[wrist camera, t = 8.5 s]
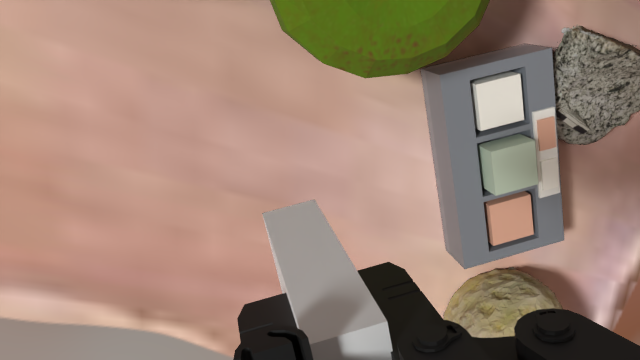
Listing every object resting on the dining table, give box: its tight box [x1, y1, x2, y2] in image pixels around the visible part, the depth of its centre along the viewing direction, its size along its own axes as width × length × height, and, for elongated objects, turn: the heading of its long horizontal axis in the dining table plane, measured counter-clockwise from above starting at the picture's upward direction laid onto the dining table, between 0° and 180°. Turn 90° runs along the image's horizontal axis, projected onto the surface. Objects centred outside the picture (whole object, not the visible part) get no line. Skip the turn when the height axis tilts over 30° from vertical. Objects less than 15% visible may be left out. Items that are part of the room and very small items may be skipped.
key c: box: [483, 191, 534, 246], centre depth 44 cm, size 3×3×2 cm
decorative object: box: [443, 267, 563, 338], centre depth 46 cm, size 9×10×10 cm
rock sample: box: [553, 26, 640, 145], centre depth 43 cm, size 10×8×9 cm
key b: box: [478, 134, 538, 196], centre depth 41 cm, size 3×3×2 cm
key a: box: [470, 71, 524, 131], centre depth 41 cm, size 3×3×2 cm
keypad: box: [421, 44, 564, 269], centre depth 43 cm, size 14×8×4 cm, turn 12°
